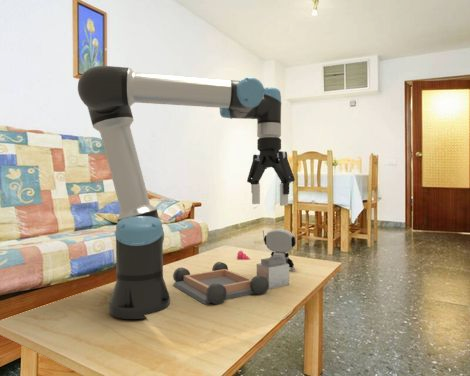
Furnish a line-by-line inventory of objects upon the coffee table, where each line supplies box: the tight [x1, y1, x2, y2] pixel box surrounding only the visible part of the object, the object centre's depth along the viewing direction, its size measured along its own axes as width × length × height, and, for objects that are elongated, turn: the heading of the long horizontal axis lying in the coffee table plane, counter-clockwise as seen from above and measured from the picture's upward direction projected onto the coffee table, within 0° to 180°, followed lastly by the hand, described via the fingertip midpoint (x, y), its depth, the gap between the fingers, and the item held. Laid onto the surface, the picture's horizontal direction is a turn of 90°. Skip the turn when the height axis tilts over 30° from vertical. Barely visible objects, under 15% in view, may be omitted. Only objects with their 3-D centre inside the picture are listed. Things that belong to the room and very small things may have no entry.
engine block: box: [256, 257, 290, 290], centre depth 107 cm, size 8×6×8 cm
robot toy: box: [262, 228, 297, 272], centre depth 126 cm, size 12×4×15 cm, turn 64°
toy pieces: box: [236, 250, 251, 261], centre depth 141 cm, size 12×11×4 cm
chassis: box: [172, 261, 269, 305], centre depth 104 cm, size 20×24×5 cm
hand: (269, 204), depth 110 cm, fingers open, 13 cm apart
